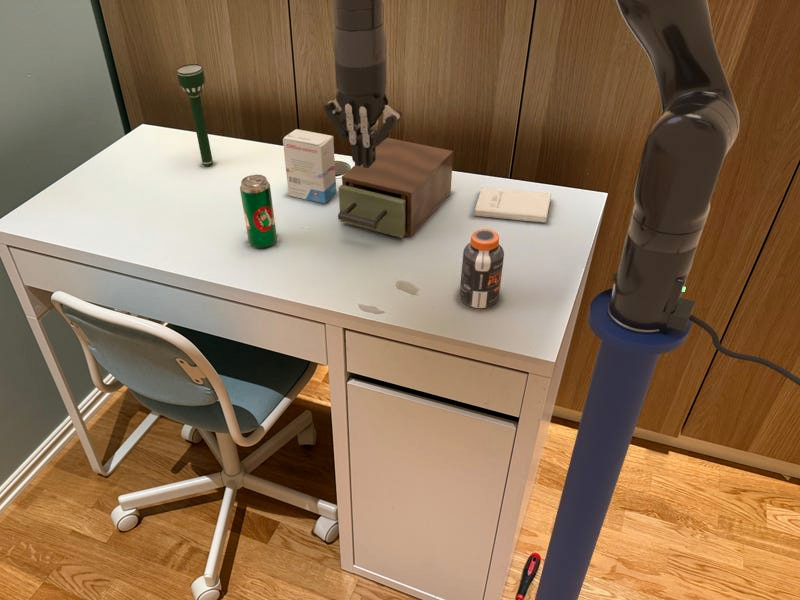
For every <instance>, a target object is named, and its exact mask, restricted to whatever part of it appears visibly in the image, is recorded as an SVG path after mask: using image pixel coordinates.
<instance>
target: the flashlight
mask: <svg viewBox="0 0 800 600" xmlns="http://www.w3.org/2000/svg"><path fill="white" fill-rule="evenodd" d="M176 77H177V81H178V84H179V86H180V88H181V89H182V91H183V92H184V93H185V94H187V96H188V98H189V102H190V108H191V112H192V117H193V124H194V128H195V133H196V137H197V142H198V148H199V153H200V159H201V163H202V166H204V167H206V168H208V167H212V166H213V165H214V160H213V155H212V154H213V153H212V150H211V144H210V139H209V134H208V128H207V124H206V117H205V113H204V107H203V103H202V97H201V93H202V91H203V89H204V86H205V82H206V81H205V80H206V78H205V73H204V68H203V66H202V65H201V64H197V63H190V64H185V65H182V66H179V67H178V68H177V69H176Z"/></svg>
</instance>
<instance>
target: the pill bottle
mask: <svg viewBox="0 0 800 600" xmlns="http://www.w3.org/2000/svg"><path fill="white" fill-rule="evenodd" d="M462 253H463V254H462V260H461V261H462V262H461V273H460V285H459V298H460V300H461V302H462V303H464V304H466V305H467V306H468V307H471V308H475V309H485V308H486V309H487V308H489V307H492V306H493V305H495V304H497V302H498V301H499V298H500V291H501V284H502V283H501V282H502V275H503V266H504V259H505V251H504V248H503V246H501V244H500V235H499V233H498V232H497V231H495V230H492V229H489V228H480V229H477V230H474V231H473V232H472V233H471V236H470V242H468V243H467V244H466V245H465V247H464V248H463V252H462Z"/></svg>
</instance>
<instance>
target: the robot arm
mask: <svg viewBox="0 0 800 600" xmlns="http://www.w3.org/2000/svg"><path fill="white" fill-rule="evenodd" d="M332 3H333V21H334V34H333V54H334V67H335V85H336V89H337V92H336V95H335V98H332V99H331V100H329V101H328V102H327V103H325V105H324V106H323V111H324V112H325V114H326V115H327V117H328V119H329V120H330V122H331V124H332V126H333V127H334V129H335V131H336V132H337V134H338V136H339V137H340V139H342V140H345V139H346V140H348V142H349V143H350V145H351V158H352V162H353V163H354V166H359V167H360V166H361V165H362V164H363V167H364V168H369V167H370V166H371V165H372V164H373V163H374V162H375V160H376V147H377V146H378V145H380V144H381V143H382V142H383V141H384V140H385V139H386V138H389V136H390V135H391V133H392V131H394V129H395V127H396V126H397V124H398V123H399V121H401V119H402V117H403V113H402V111H401V110H396V111H395V110H394V109H393V108H392V107H391V106H390V105H389V99H388V97H387V94H386V89H387V35H386V29H385V8H384V7H385V0H333V2H332ZM614 3H615V4H616V7H617V10H618V12H619V14H620V16H621V18H622V20H623V21H624V23H625V25H626V27H627V28H628V29H629V31H630V32H631V33H632V35H633V37H634V38H635V39H636V41H637V42H638V43H639V45H640V46H641V48H642V49H643V51H644V52H645V54H646V56H647V57H648V59H649V61H650V64H651V66H652V69H653V72H654V76H655V79H656V84H657V89H658V95H659V99H660V107H661V115H660V117H659V118H658V119H657V120H656V122H655V123H654V124H653V126H652V127H651V129H650V131H649V133H648V135H647V138H646V139H645V143H644V146H643V151H642V155H641V159H640V163H639V167H638V172H637V177H636V181H635V185H634V191H633V202H634V203H633V208H632V212H631V215H630V219H629V224H628V227H627V232H626V235H625V239H624V243H623V248H622V251H621V256H620V260H619V263H618V267H617V271H616V272H615V273H614V274H612V279H611V283H613V282H614V283H613V287H612V288H613V291H612V295H611V297H610V302H609V304H608V308H607V313H608V316H609V318H610V319H611V320H612V321H613V322H614V323H615V324H616V325H618V326H619V327H621V328H623V329H625V330H628V331H631V332H634V333H640V334H655V333H661V334H665V335H666V334H667V333H668V331H669V328H674V329H677V330H681V331H685V328H686V326H687V323H688V321H689V320H691V323H693V324H696V325H697V326H699V327H701V328H702V329H703V330H704V331H706V332H707V333H708V334H709V336H710V337H711V341H712V345H713V346H714V348H715V349H716V350H717V351H718V352H720V353H721V354H723V355H724V356H727V357H730V358H732V359H737V360H742V361H748V362H752V363H756V364H760V365H762V366H765V367H767V368H769V369H771V370H773V371H775V372H776V373H778V374H780V375H781V376H783V377H785V378H787V379H788V380H789V381H791V382H793V383H794V384H796V385H797V386H799V387H800V378H799V376H797V375H796V374H793V373H792V372H791V371H789V370H787V369H785V368H784V367H781V366H780V365H778V364H777V363H775V362H773V361H770V360H768V359H766V358H762V357H760V356H755V355H752V354H751V355H750V354H745V353H740V352H736V351H733V350H730V349H727V348H726V347H724V345H722V344H721V343H720V339H719V335H718V333H717V332H716V331H715V329H713V328H712V327H711V325H709V324H708V323H707V322H705V321H704V320H702V319H700V318H698V317H696V316H695V315H694V314H693V310H694V307H695V305H696V301H695V300H692V299H688V298H684V297H683V295H684V293H685V291H686V285H687V281H688V280H689V279H688V278H689V276H690V273H691V270H692V267H693V264H694V258H695V255H696V252H697V249H698V246H699V243H700V240H701V237H702V234H703V231H704V228H705V225H706V223H707V220H708V217H709V214H710V211H711V199H712V196H713V193H714V191H715V187H716V184H717V181H718V178H719V175H720V172H721V169H722V166H723V163H724V161H725V158H726V156H727V155H728V153H729V151H731V148H732V147H733V145H734V144H735V142H736V140H737V138H738V135H739V132H740V123H741V122H740V121H741V120H740V119H741V118H740V112H739V109H738V106H737V102H736V100H735V97H734V94H733V91H732V89H731V87H730V83H729V81H728V78H727V75H726V73H725V70H724V67H723V64H722V61H721V58H720V55H719V52H718V49H717V46H716V42H715V38H714V32H713V26H712V20H711V14H710V8H709V1H708V0H614ZM382 115H383V117H382V123H383V125H382V126H381V128H380V129H379V131H378V127H379V119H380V118H381V116H382Z"/></svg>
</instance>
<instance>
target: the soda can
mask: <svg viewBox="0 0 800 600" xmlns="http://www.w3.org/2000/svg"><path fill="white" fill-rule="evenodd" d="M240 182H241V183H240V186H239V192H240V198H241V204H242V210H243V216H244V221H245V228H246V234H247V239H248V243H249V244H250V245H251V246H252V247H254V248H258V249H265V248H270V247H271V246H272V245H274V244H275V243H276V241H277V239H278V235H277V228H276V227H277V226H276V221H275V220H276V219H275V214H274V213H275V212H274V205H273V199H272V191H271V183H270V182H269V181H268V178H267V177H266V176H265V175H262V174H250V175H247V176H245V177H243V178H242V179H241V181H240Z"/></svg>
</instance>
